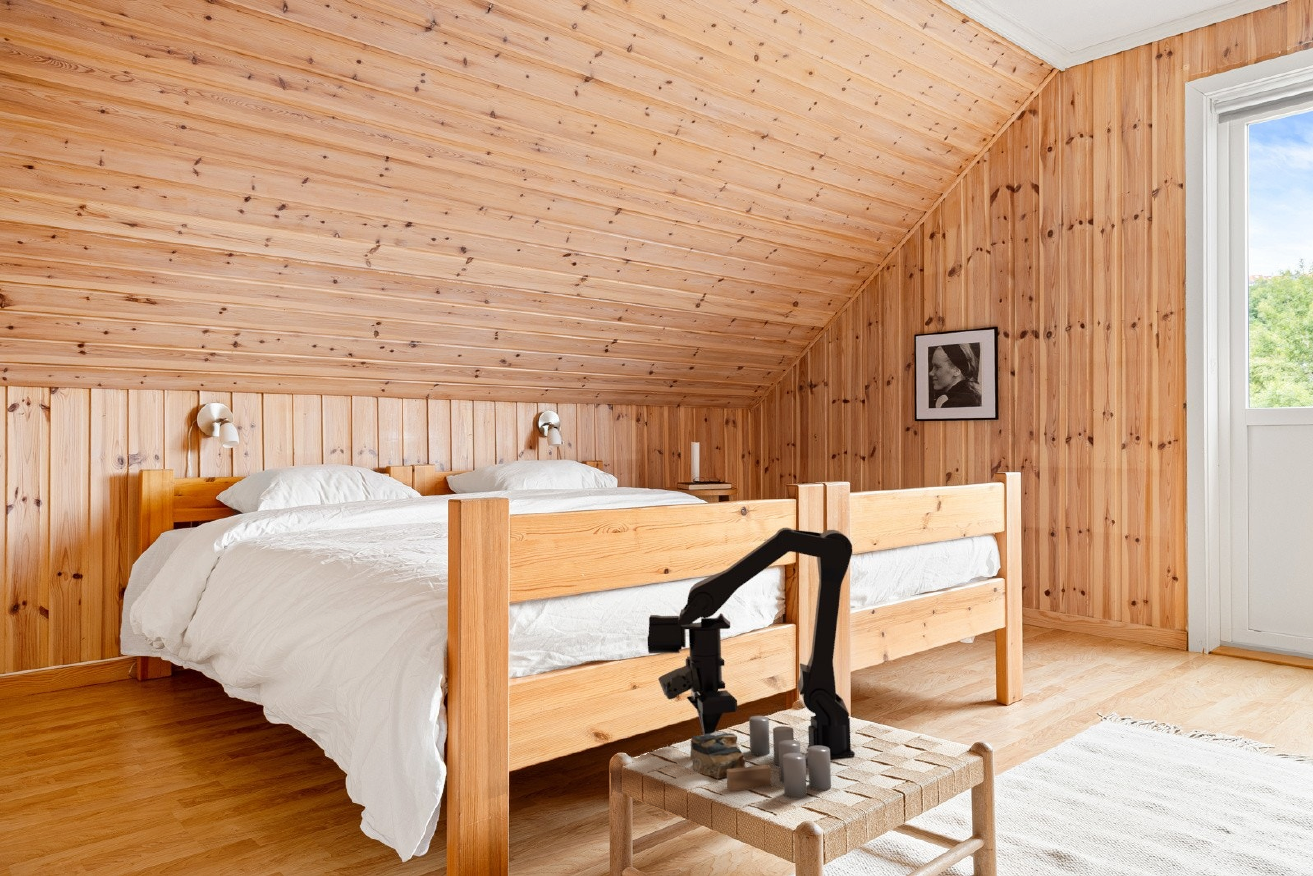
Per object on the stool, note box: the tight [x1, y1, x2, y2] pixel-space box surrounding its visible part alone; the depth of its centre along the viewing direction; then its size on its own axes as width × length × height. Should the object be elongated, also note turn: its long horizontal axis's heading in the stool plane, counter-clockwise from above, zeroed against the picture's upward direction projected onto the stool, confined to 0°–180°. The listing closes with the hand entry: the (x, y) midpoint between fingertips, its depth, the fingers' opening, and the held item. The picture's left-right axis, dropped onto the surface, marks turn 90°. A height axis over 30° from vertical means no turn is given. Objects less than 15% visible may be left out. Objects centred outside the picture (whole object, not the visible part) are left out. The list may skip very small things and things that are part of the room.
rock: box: [690, 730, 746, 779], centre depth 154 cm, size 9×9×6 cm
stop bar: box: [726, 764, 772, 792], centre depth 145 cm, size 7×2×3 cm, turn 102°
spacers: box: [748, 715, 832, 800], centre depth 152 cm, size 8×24×6 cm, turn 12°
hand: (708, 739), depth 162 cm, fingers closed
